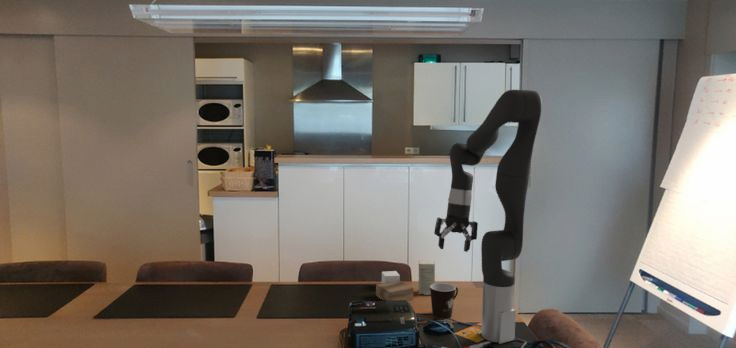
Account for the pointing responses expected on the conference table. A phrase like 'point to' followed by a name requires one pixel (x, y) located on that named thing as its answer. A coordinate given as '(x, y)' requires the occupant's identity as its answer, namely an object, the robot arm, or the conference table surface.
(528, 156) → the robot arm
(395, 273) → the white cube
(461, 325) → the conference table surface
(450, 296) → the coffee mug
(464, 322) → the conference table surface
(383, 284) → the walnut block
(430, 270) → the skincare box
